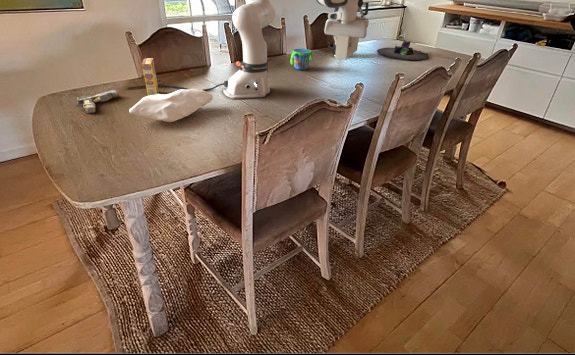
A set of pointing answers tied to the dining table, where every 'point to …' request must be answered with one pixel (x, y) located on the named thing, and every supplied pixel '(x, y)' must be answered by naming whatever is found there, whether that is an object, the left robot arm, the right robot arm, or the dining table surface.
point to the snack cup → (301, 58)
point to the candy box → (150, 76)
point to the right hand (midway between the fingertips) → (352, 22)
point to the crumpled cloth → (171, 104)
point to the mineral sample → (403, 52)
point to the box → (345, 47)
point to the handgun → (95, 100)
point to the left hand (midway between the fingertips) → (343, 45)
